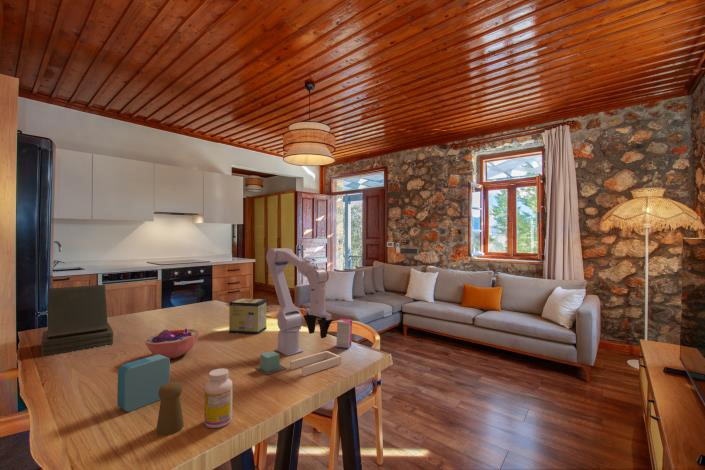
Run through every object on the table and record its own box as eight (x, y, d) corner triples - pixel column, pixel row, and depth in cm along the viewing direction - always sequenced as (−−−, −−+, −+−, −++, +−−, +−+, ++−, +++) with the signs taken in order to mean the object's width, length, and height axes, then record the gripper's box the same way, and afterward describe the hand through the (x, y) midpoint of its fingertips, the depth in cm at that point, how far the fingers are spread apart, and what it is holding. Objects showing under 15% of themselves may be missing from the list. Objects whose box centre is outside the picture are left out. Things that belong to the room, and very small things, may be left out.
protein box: (238, 327, 173) (238, 298, 173) (266, 329, 171) (267, 299, 171) (228, 333, 162) (228, 301, 163) (258, 334, 160) (258, 303, 160)
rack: (290, 369, 119) (290, 361, 119) (327, 357, 130) (327, 350, 130) (303, 376, 113) (303, 368, 113) (341, 363, 124) (341, 356, 124)
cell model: (208, 351, 136) (209, 324, 136) (163, 369, 118) (163, 337, 118) (180, 345, 143) (181, 319, 143) (133, 361, 125) (134, 331, 125)
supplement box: (349, 349, 141) (349, 322, 141) (335, 348, 142) (336, 321, 142) (352, 345, 146) (352, 319, 146) (339, 344, 147) (339, 318, 148)
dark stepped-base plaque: (40, 357, 129) (42, 293, 129) (42, 345, 143) (43, 287, 144) (112, 345, 144) (113, 288, 144) (108, 335, 158) (109, 283, 159)
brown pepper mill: (189, 424, 83) (189, 380, 83) (168, 437, 77) (169, 391, 78) (171, 419, 85) (171, 377, 85) (149, 432, 79) (150, 387, 80)
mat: (255, 368, 119) (255, 367, 119) (275, 362, 125) (275, 362, 125) (266, 375, 113) (266, 374, 113) (286, 369, 119) (286, 368, 119)
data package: (161, 392, 100) (162, 352, 100) (169, 396, 98) (170, 355, 98) (116, 409, 90) (117, 365, 90) (124, 414, 88) (125, 369, 88)
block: (260, 368, 119) (260, 354, 119) (272, 364, 122) (272, 351, 122) (266, 372, 115) (267, 357, 115) (279, 368, 118) (279, 354, 118)
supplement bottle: (211, 414, 88) (212, 366, 88) (236, 415, 88) (236, 366, 88) (199, 429, 81) (200, 376, 81) (225, 429, 81) (226, 377, 81)
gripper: (298, 298, 130) (298, 333, 129) (320, 304, 119) (320, 341, 119) (313, 296, 134) (312, 329, 134) (335, 301, 124) (335, 338, 124)
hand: (317, 335), depth 127 cm, fingers open, 7 cm apart
